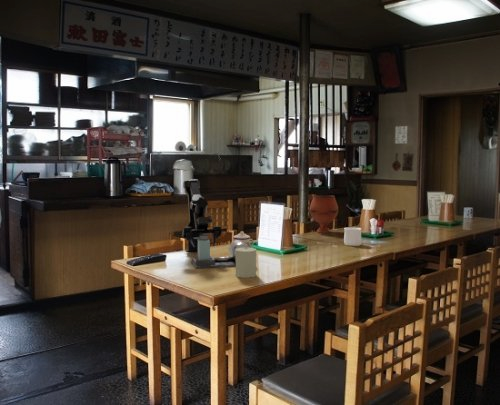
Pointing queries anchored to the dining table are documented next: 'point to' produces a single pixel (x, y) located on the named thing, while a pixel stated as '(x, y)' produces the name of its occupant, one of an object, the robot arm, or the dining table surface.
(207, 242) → the pale teal bottle
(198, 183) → the robot arm
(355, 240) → the cup
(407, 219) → the dining table surface
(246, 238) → the teacup with lid
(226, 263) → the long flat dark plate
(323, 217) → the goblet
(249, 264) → the can
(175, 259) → the dining table surface
